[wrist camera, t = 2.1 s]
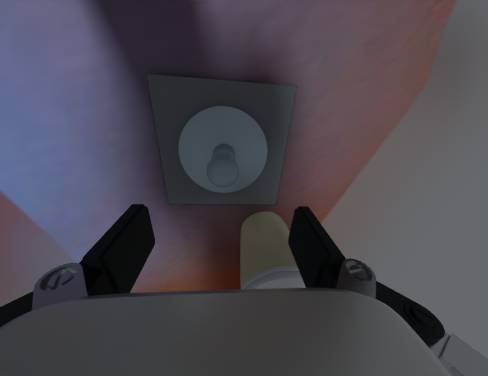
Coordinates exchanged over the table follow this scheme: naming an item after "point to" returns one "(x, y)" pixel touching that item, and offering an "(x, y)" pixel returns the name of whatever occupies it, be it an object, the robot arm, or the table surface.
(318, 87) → the table surface
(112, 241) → the robot arm
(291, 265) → the coffee cup
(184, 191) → the mat
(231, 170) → the lid
